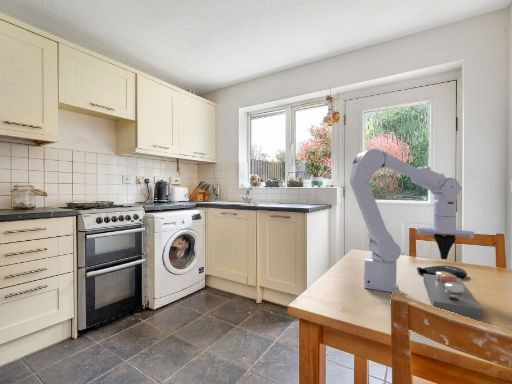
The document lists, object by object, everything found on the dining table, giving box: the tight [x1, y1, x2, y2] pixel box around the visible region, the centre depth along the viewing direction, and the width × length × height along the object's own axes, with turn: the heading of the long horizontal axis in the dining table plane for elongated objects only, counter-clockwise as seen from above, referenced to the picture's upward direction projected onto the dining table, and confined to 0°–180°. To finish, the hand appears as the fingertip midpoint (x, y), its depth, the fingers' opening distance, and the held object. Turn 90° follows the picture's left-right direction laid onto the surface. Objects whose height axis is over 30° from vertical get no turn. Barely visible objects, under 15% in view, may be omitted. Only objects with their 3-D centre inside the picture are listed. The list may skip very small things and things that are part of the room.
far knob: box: [435, 271, 450, 280], centre depth 85 cm, size 4×4×4 cm
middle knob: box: [440, 273, 457, 284], centre depth 78 cm, size 4×4×4 cm
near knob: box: [445, 282, 464, 301], centre depth 71 cm, size 4×4×4 cm
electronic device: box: [416, 265, 468, 279], centre depth 97 cm, size 9×6×15 cm
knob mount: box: [422, 273, 483, 320], centre depth 78 cm, size 10×24×2 cm, turn 153°
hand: (443, 258), depth 85 cm, fingers closed
